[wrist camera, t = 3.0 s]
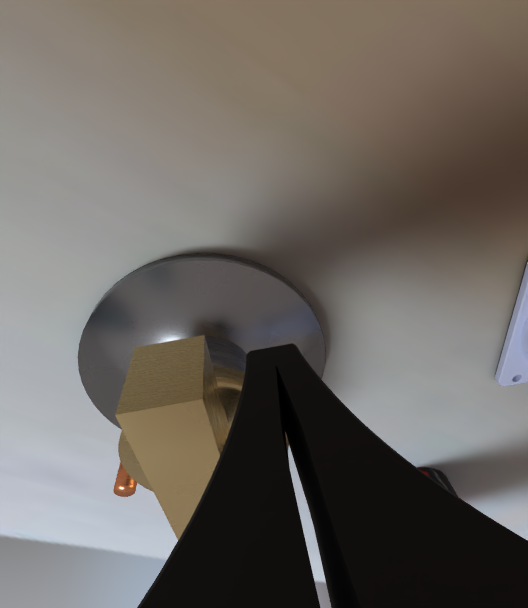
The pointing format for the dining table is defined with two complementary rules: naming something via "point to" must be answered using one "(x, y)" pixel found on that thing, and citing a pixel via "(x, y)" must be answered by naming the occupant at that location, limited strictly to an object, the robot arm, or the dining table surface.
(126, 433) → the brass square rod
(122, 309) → the post base
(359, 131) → the dining table surface
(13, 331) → the dining table surface
